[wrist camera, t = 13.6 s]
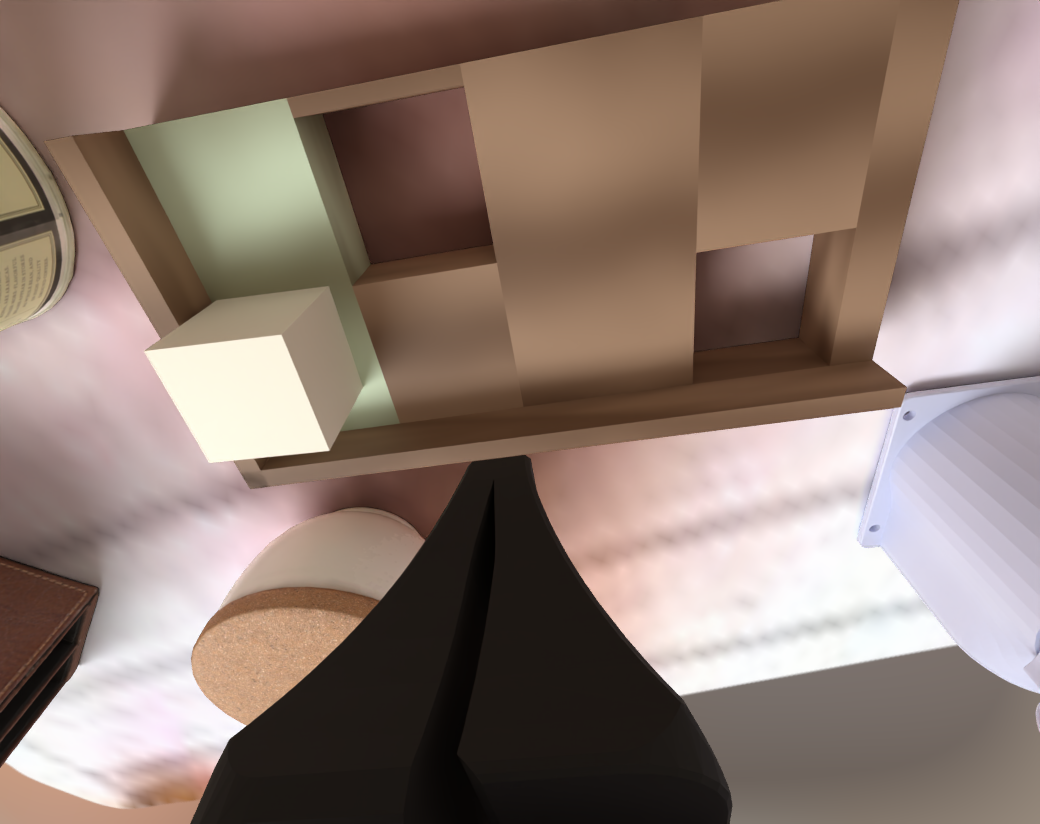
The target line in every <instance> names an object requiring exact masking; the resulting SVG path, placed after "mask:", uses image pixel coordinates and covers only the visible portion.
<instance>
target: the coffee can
mask: <svg viewBox="0 0 1040 824" xmlns="http://www.w3.org/2000/svg"><path fill="white" fill-rule="evenodd" d="M74 258H75V248H74V232H73V228H72V224H71V220H70V216H69V213H68V210H67V207H66V204H65V201H64V199H63V197H62V194H61V192H60V190H59V188H58V185H57V183H56V181H55V179H54V177H53V175H52V172H51V171H50V170H49V169H48V167H47V166H46V164H45V163H44V161H43V160H42V158H41V157H40V156H39V154H38V153H37V151H36V150H35V148H34V147H33V145H32V144H31V142H30V141H29V140H28V138H27V137H26V136H25V134H24V133H23V132H22V131H21V130H20V128H19V127H18V126H17V125H16V124H15V122H14V121H13V120H12V119H11V118H10V117H9V115H8V114H7V113H6V112H5V111H4V110H3V109H2V108H1V107H0V331H2V330H5V329H7V328H9V327H11V326H14V325H16V324H19V323H22V322H25V321H28V320H31V319H33V318H36V317H38V316H40V315H41V314H43V313H45V312H46V311H48V310H50V309H51V308H52V307H53V306H54V305H55V304H56V303H57V302H58V301H59V300H60V299H61V297H62V296H63V295H64V293H65V291H66V290H67V287H68V284H69V282H70V281H71V279H72V277H73V267H74Z"/></svg>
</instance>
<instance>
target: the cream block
mask: <svg viewBox="0 0 1040 824" xmlns="http://www.w3.org/2000/svg"><path fill="white" fill-rule="evenodd" d="M144 352H145V354H146V356H147V357H148V359H149V361H150V362H151V364H152V366H153V368H154V369H155V371H156V373H157V374H158V376H159V378H160V380H161V381H162V383H163V385H164V386H165V388H166V390H167V392H168V393H169V395H170V397H171V398H172V400H173V402H174V403H175V405H176V407H177V409H178V410H179V412H180V414H181V415H182V417H183V419H184V421H185V422H186V424H187V426H188V427H189V429H190V431H191V432H192V434H193V436H194V438H195V439H196V441H197V443H198V444H199V446H200V448H201V450H202V451H203V453H204V455H205V456H206V458H207V460H208V461H209V463H215V462H225V461H234V460H244V459H254V458H264V457H274V456H283V455H293V454H303V453H313V452H323V451H330V449H331V447H332V445H333V443H334V442H335V440H336V438H337V436H338V434H339V432H340V430H341V428H342V426H343V424H344V423H345V421H346V419H347V417H348V415H349V413H350V411H351V409H352V407H353V406H354V404H355V402H356V400H357V398H358V396H359V394H360V392H361V390H362V389H363V385H362V383H361V380H360V377H359V374H358V371H357V368H356V365H355V362H354V359H353V356H352V353H351V350H350V347H349V344H348V341H347V338H346V336H345V333H344V330H343V327H342V324H341V321H340V318H339V315H338V312H337V309H336V306H335V303H334V300H333V297H332V294H331V292H330V289H329V286H325V287H317V288H309V289H301V290H293V291H285V292H277V293H269V294H261V295H254V296H246V297H238V298H230V299H222V300H216V301H215V302H213V303H212V304H211V305H209V306H208V307H206V308H205V309H203V310H202V311H201V312H199V313H198V314H196V315H195V316H193V317H192V318H191V319H189V320H188V321H186V322H185V323H183V324H182V325H181V326H179V327H178V328H176V329H175V330H173V331H172V332H171V333H169V334H168V335H166V336H165V337H163V338H162V339H161V340H159V341H158V342H156V343H155V344H153V345H152V346H151V347H149V348H148V349H146V350H145V351H144Z"/></svg>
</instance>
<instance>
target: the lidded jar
mask: <svg viewBox="0 0 1040 824" xmlns="http://www.w3.org/2000/svg"><path fill="white" fill-rule="evenodd" d="M424 542H425V540H424V539H423V538H422V537H421V536H420V534H419V533H418V531H417V530H416V529H415V528H414V527H413V526H412V525H411V524H409V523H408V522H407V521H405V520H404V519H402V518H400V517H399V516H397V515H394V514H392V513H390V512H387V511H384V510H380V509H375V508H367V507H352V508H346V509H342V510H338V511H335V512H333V513H328V514H324V515H320V516H317V517H313V518H310V519H308V520H306V521H304V522H302V523H300V524H298V525H295V526H293V527H291V528H290V529H288V530H287V531H285V532H284V533H283V534H281V535H280V536H278V537H277V538H276V539H274V540H273V541H272V542H270V543H269V544H268V545H267V546H266V547H265V548H264V549H263V550H262V551H261V552H260V553H259V554H258V555H257V557H256V558H255V559H254V560H253V561H252V562H251V563H250V564H249V565H248V567H247V568H246V569H245V570H244V572H243V573H242V574H241V576H240V577H239V578H238V579H237V581H236V582H235V584H234V585H233V587H232V588H231V590H230V591H229V593H228V595H227V596H226V598H225V599H224V601H223V603H222V605H221V606H220V608H219V610H218V611H217V613H216V614H215V615H214V616H213V617H212V618H211V619H210V620H209V621H208V623H207V624H206V626H205V627H204V629H203V631H202V633H201V634H200V636H199V638H198V640H197V642H196V644H195V645H194V647H193V651H192V657H191V662H192V670H193V675H194V677H195V680H196V682H197V684H198V686H199V687H200V689H201V690H202V692H203V693H204V695H205V696H206V697H207V698H208V699H209V700H210V701H211V702H212V703H213V704H215V705H216V706H217V707H218V708H219V709H221V710H222V711H223V712H225V713H226V714H227V715H229V716H231V717H232V718H234V719H236V720H238V721H239V722H241V723H243V724H245V725H248V724H250V723H251V722H252V721H253V720H254V719H256V718H257V717H258V716H259V715H261V714H262V713H263V712H264V711H265V710H267V709H268V708H269V707H270V706H272V705H273V704H274V703H275V702H277V701H278V700H279V699H280V698H281V697H283V696H284V695H285V694H286V693H287V692H289V691H290V690H291V689H292V688H293V687H294V686H295V685H297V684H298V683H299V682H300V681H301V680H302V679H303V678H304V677H306V676H307V675H308V674H309V673H310V672H311V671H312V670H313V669H314V668H315V667H316V666H318V665H319V664H320V663H321V662H322V661H323V660H324V659H325V658H326V657H327V656H328V655H329V654H330V653H331V652H332V651H333V650H334V649H335V648H336V647H338V646H339V645H340V644H341V643H342V642H343V641H344V640H345V639H346V638H347V636H348V635H349V634H350V633H351V632H352V631H353V630H354V629H355V628H356V627H357V626H358V625H359V624H360V623H361V621H362V620H363V619H364V618H365V617H366V616H367V615H368V614H369V613H370V611H371V610H372V609H373V608H374V607H375V606H376V605H377V604H378V603H379V601H380V600H381V599H382V598H383V597H384V595H385V594H386V593H387V592H388V590H389V589H390V588H391V587H392V586H393V584H394V583H395V582H396V581H397V579H398V578H399V577H400V575H401V574H402V573H403V571H404V570H405V569H406V567H407V566H408V565H409V563H410V562H411V561H412V559H413V558H414V556H415V555H416V553H417V552H418V550H419V549H420V548H421V546H422V545H423V543H424Z"/></svg>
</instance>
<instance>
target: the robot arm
mask: <svg viewBox="0 0 1040 824" xmlns="http://www.w3.org/2000/svg"><path fill="white" fill-rule="evenodd" d="M908 411H909V413H907V412H908ZM905 413H907V414H906V415H904V414H905ZM857 541H858V542H859V544H860V545H861V546H862V547H864V548H871V547H881V548H882V549H883V551H884V552H885V553H886V554H887V556H888V557H889V558H890V559H891V561H892V562H893V563H894V565H895V566H896V567H897V568H898V570H899V571H900V572H901V574H902V575H903V576H904V577H905V579H906V580H907V581H908V583H909V584H910V585H911V586H912V588H913V589H914V590H915V592H916V593H917V594H918V595H919V597H920V598H921V599H922V601H923V602H924V603H925V604H926V606H927V607H928V608H929V610H930V611H931V612H932V613H933V615H934V616H935V617H936V619H937V620H938V621H939V622H940V624H941V625H942V626H943V627H944V629H945V630H946V631H947V633H948V634H949V635H950V636H951V638H952V639H953V640H954V641H955V642H956V643H957V644H958V646H959V647H960V648H961V649H963V651H965V652H966V653H967V654H968V655H969V656H970V657H971V658H973V659H974V660H975V661H977V662H978V663H979V664H981V665H982V666H983V667H985V668H986V669H988V670H990V671H991V672H993V673H994V674H996V675H998V676H999V677H1001V678H1003V679H1005V680H1007V681H1008V682H1010V683H1013V684H1015V685H1017V686H1019V687H1022V688H1024V689H1027V690H1030V691H1033V692H1037V693H1040V376H1034V377H1026V378H1019V379H1011V380H1003V381H995V382H987V383H980V384H972V385H964V386H956V387H948V388H940V389H933V390H925V391H917V392H910V393H906V394H905V396H904V399H903V402H902V406H901V407H899V408H894V410H893V413H892V417H891V420H890V424H889V427H888V431H887V434H886V438H885V441H884V445H883V448H882V452H881V455H880V459H879V462H878V466H877V469H876V473H875V476H874V480H873V483H872V487H871V490H870V494H869V497H868V501H867V504H866V508H865V511H864V515H863V519H862V522H861V526H860V529H859V533H858V536H857ZM1036 721H1037V726H1038V729H1039V732H1040V703H1039V704H1038V705H1037V709H1036ZM731 811H732V800H731V794H730V790H729V787H728V784H727V782H726V779H725V777H724V774H723V772H722V770H721V767H720V766H719V763H718V761H717V759H716V757H715V755H714V753H713V751H712V749H711V747H710V745H709V744H708V742H707V740H706V738H705V736H704V734H703V733H702V731H701V729H700V728H699V726H698V724H697V722H696V721H695V719H694V717H693V716H692V714H691V712H690V711H689V709H688V707H687V705H686V704H685V702H684V701H683V699H682V698H681V697H680V696H679V695H678V694H677V693H676V692H675V691H674V690H673V689H672V688H671V687H670V686H669V685H668V684H667V683H666V682H665V681H664V680H663V679H662V677H661V676H660V675H659V674H658V673H657V672H656V671H655V670H654V669H653V668H652V667H651V666H650V664H649V663H648V662H647V661H646V660H645V659H644V658H643V657H642V655H641V654H640V653H639V652H638V651H637V650H636V648H635V647H634V646H633V645H632V644H631V643H630V642H629V640H628V639H627V638H626V637H625V636H624V634H623V633H622V632H621V630H620V629H619V628H618V627H617V625H616V624H615V623H614V622H613V620H612V619H611V618H610V616H609V615H608V614H607V613H606V611H605V610H604V609H603V607H602V606H601V605H600V604H599V602H598V601H597V600H596V598H595V597H594V595H593V594H592V592H591V591H590V589H589V588H588V587H587V585H586V584H585V582H584V581H583V579H582V578H581V576H580V575H579V573H578V571H577V570H576V568H575V567H574V565H573V564H572V562H571V560H570V559H569V557H568V555H567V553H566V552H565V550H564V548H563V546H562V545H561V543H560V541H559V539H558V537H557V535H556V533H555V531H554V529H553V527H552V525H551V523H550V521H549V519H548V517H547V515H546V512H545V510H544V508H543V506H542V503H541V501H540V498H539V496H538V493H537V490H536V484H535V479H534V474H533V469H532V463H531V459H530V458H529V457H527V456H526V455H521V456H513V457H505V458H497V459H489V460H481V461H473V462H472V463H471V464H470V465H469V466H468V468H467V470H466V472H465V474H464V476H463V478H462V480H461V482H460V483H459V485H458V487H457V489H456V491H455V493H454V494H453V496H452V498H451V500H450V502H449V503H448V505H447V507H446V508H445V510H444V512H443V513H442V515H441V517H440V518H439V520H438V522H437V523H436V525H435V527H434V528H433V530H432V531H431V533H430V534H429V536H428V537H427V539H426V540H425V542H424V543H423V545H422V546H421V548H420V549H419V550H418V552H417V553H416V555H415V556H414V558H413V559H412V561H411V562H410V563H409V565H408V566H407V567H406V569H405V570H404V571H403V573H402V574H401V575H400V577H399V578H398V579H397V581H396V582H395V583H394V584H393V586H392V587H391V588H390V589H389V590H388V592H387V593H386V594H385V595H384V597H383V598H382V599H381V600H380V601H379V603H378V604H377V605H376V606H375V607H374V608H373V609H372V610H371V611H370V613H369V614H368V615H367V616H366V617H365V618H364V619H363V620H362V621H361V623H360V624H359V625H358V626H357V627H356V628H355V629H354V630H353V631H352V632H351V633H350V634H349V635H348V636H347V638H346V639H345V640H344V641H343V642H342V643H341V644H340V645H339V646H338V647H336V648H335V649H334V650H333V651H332V652H331V653H330V654H329V655H328V656H327V657H326V658H325V659H324V660H323V661H322V662H321V663H320V664H319V665H318V666H316V667H315V668H314V669H313V670H312V671H311V672H310V673H309V674H308V675H307V676H306V677H304V678H303V679H302V680H301V681H300V682H299V683H298V684H297V685H295V686H294V687H293V688H292V689H291V690H290V691H289V692H287V693H286V694H285V695H284V696H283V697H281V698H280V699H279V700H278V701H277V702H275V703H274V704H273V705H272V706H270V707H269V708H268V709H267V710H265V711H264V712H263V713H262V714H261V715H259V716H258V717H257V718H256V719H254V720H253V721H252V722H251V723H250V724H248V725H247V726H246V727H245V728H243V729H242V730H241V731H240V732H238V733H237V734H236V735H234V736H233V737H232V738H231V739H230V740H229V741H228V743H227V745H226V747H225V749H224V751H223V753H222V755H221V757H220V759H219V761H218V763H217V765H216V767H215V769H214V771H213V773H212V775H211V778H210V780H209V782H208V785H207V787H206V789H205V791H204V794H203V796H202V798H201V801H200V803H199V805H198V808H197V810H196V812H195V814H194V817H193V819H192V821H191V823H190V824H730V817H731Z"/></svg>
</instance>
